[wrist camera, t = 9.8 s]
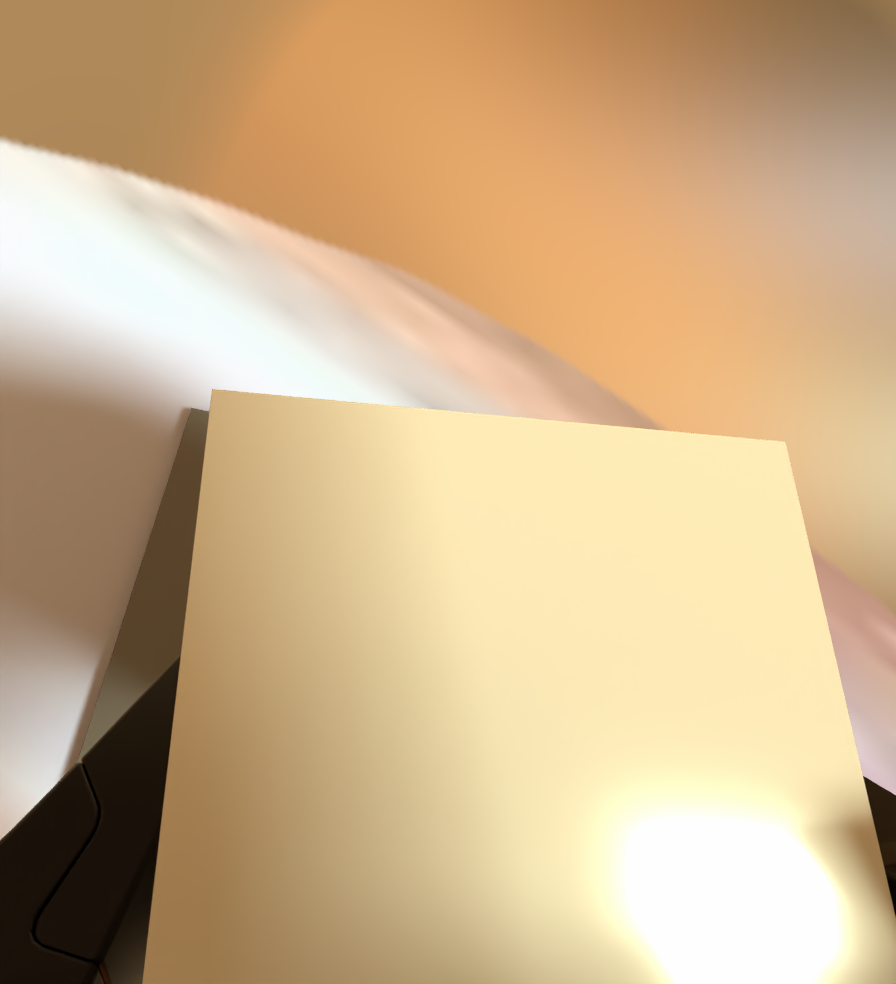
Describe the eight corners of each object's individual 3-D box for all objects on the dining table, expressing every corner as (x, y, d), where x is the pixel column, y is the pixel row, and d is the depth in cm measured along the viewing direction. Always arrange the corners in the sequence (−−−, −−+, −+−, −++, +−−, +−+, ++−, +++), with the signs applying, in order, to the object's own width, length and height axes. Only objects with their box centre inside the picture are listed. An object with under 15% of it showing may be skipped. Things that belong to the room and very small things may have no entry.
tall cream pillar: (469, 765, 15) (947, 1140, 4) (271, 784, 13) (83, 1485, 2) (462, 576, 16) (784, 441, 5) (284, 575, 15) (213, 388, 4)
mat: (563, 945, 16) (569, 952, 15) (25, 940, 13) (16, 950, 12) (582, 496, 20) (588, 494, 20) (194, 412, 17) (191, 408, 17)
